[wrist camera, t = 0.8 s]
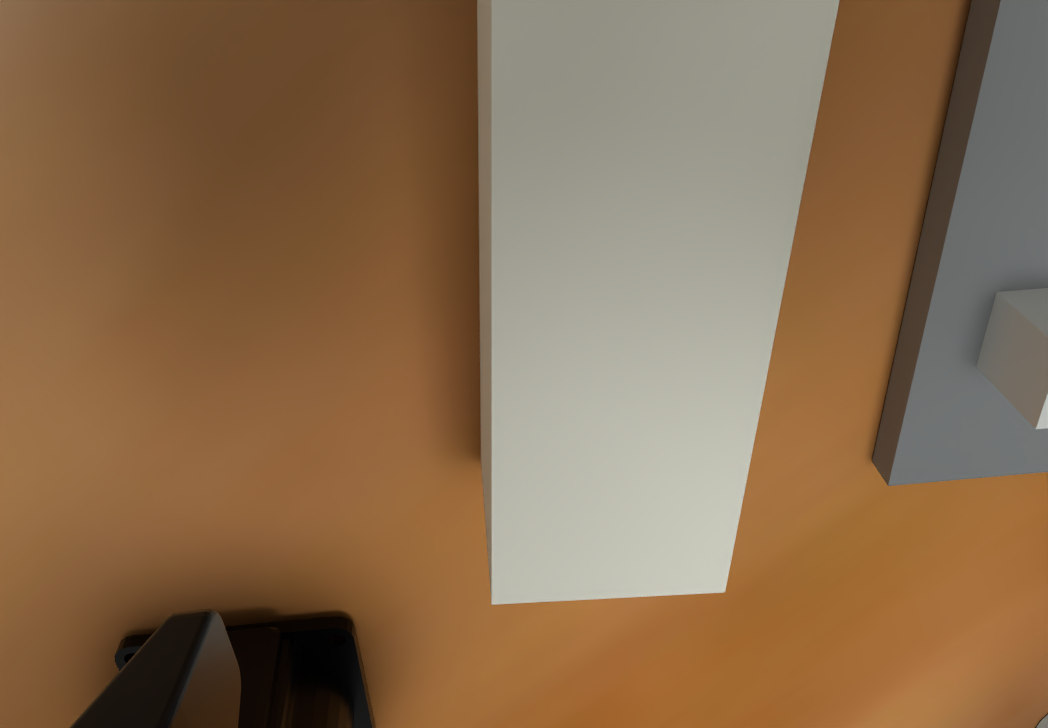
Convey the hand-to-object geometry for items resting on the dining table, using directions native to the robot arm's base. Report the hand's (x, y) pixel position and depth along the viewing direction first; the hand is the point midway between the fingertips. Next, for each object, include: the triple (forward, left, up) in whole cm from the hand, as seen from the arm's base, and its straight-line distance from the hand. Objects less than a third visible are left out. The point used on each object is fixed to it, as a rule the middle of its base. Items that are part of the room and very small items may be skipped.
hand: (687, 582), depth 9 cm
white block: (-1, -1, -12) cm, 12 cm away
